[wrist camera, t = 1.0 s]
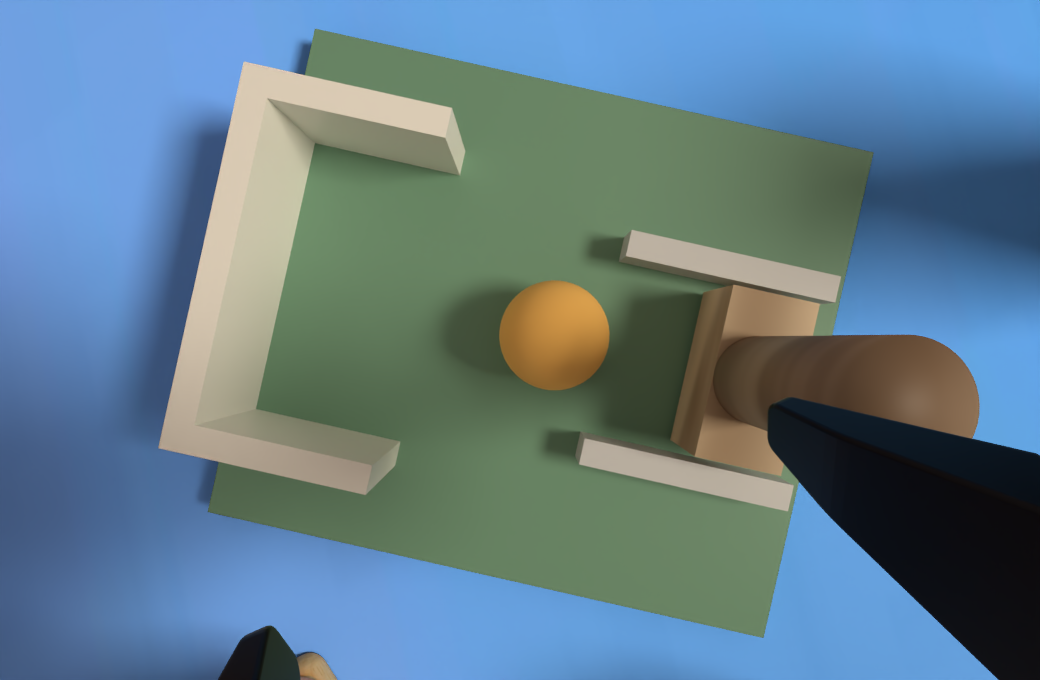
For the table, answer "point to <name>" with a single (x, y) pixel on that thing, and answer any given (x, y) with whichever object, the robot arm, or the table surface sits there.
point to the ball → (554, 335)
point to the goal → (281, 271)
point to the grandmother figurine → (314, 668)
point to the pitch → (476, 323)
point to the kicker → (805, 376)
